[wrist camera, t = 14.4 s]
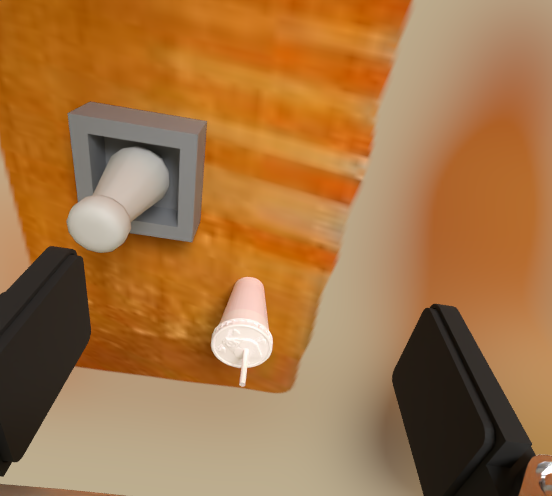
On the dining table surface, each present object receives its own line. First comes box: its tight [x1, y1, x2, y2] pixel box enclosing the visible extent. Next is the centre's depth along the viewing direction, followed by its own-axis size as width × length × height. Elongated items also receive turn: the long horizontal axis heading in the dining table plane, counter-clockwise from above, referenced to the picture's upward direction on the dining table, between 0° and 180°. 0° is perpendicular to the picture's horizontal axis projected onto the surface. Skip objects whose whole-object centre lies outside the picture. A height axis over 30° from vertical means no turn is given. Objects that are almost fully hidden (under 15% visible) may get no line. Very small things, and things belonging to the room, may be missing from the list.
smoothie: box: [211, 277, 273, 386], centre depth 43 cm, size 6×6×14 cm
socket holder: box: [68, 102, 207, 242], centre depth 38 cm, size 11×11×4 cm
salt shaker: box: [67, 146, 170, 253], centre depth 34 cm, size 6×6×13 cm
